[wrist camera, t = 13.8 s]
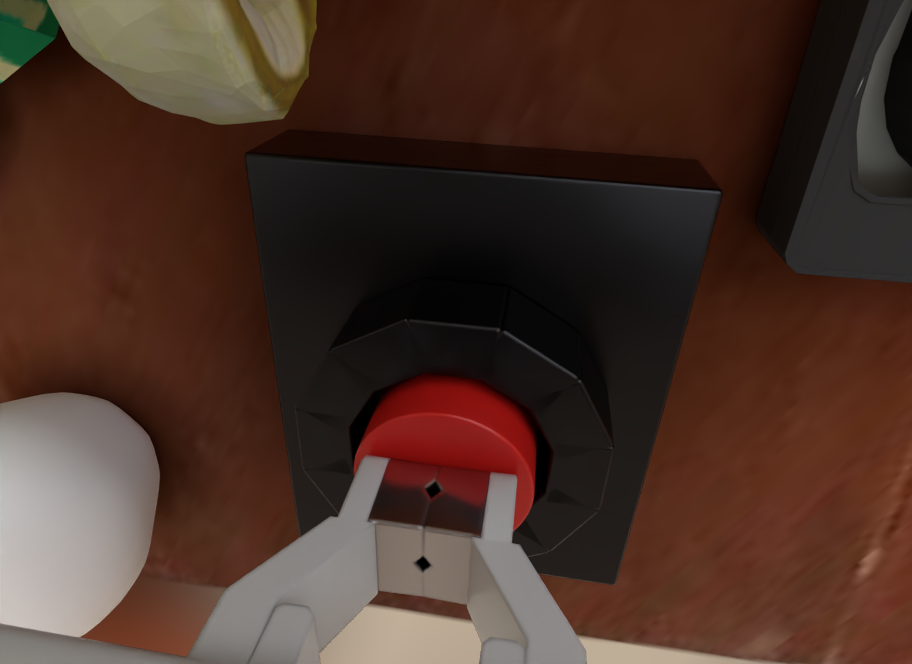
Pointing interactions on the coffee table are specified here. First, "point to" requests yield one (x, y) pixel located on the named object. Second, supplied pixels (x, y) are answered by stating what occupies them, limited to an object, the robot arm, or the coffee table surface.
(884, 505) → the coffee table surface
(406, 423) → the button
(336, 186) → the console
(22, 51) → the candy
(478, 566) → the robot arm
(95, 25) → the mug
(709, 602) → the coffee table surface
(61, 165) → the coffee table surface
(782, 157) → the vhs tape
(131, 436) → the plain white apple
